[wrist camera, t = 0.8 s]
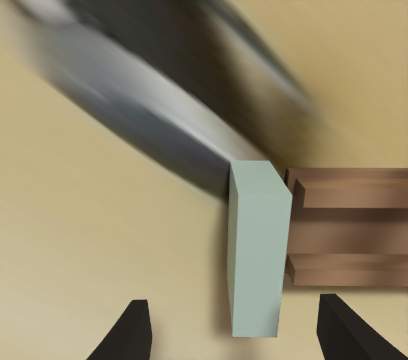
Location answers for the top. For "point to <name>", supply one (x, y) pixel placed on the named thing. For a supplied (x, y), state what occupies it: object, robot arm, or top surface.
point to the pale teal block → (256, 247)
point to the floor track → (348, 227)
